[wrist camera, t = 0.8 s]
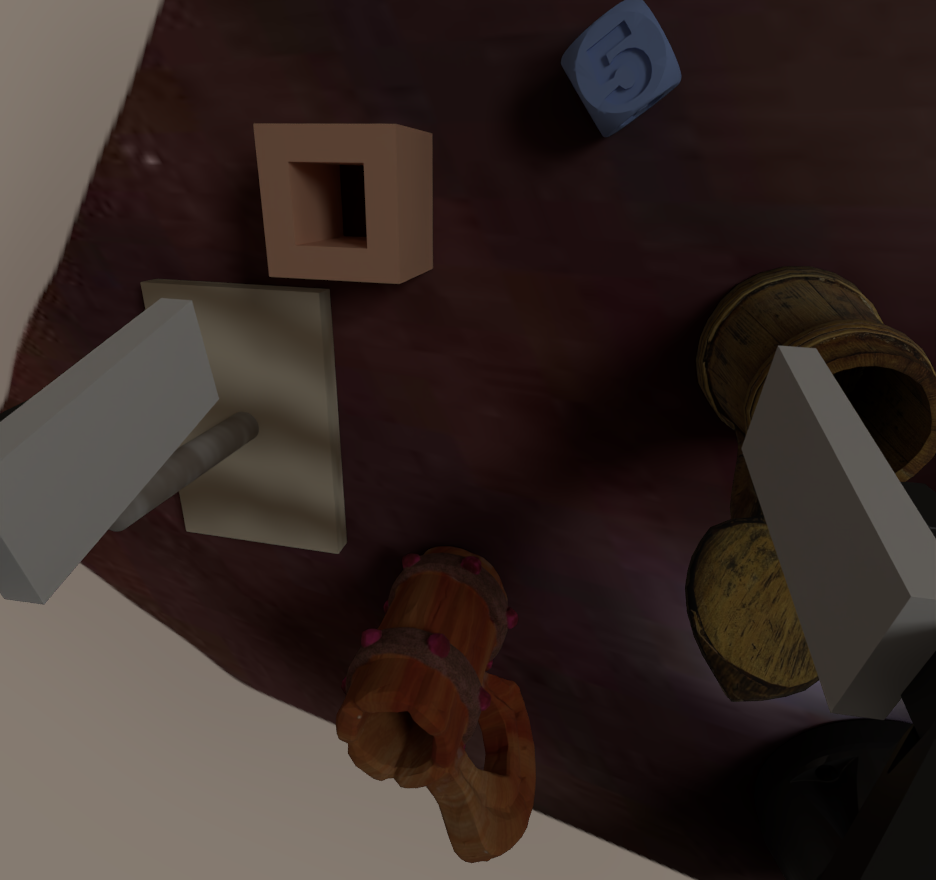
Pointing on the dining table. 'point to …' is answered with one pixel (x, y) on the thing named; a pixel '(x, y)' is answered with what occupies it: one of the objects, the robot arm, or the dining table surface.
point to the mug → (444, 700)
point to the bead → (320, 204)
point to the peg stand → (258, 420)
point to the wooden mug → (746, 534)
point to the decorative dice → (621, 65)
